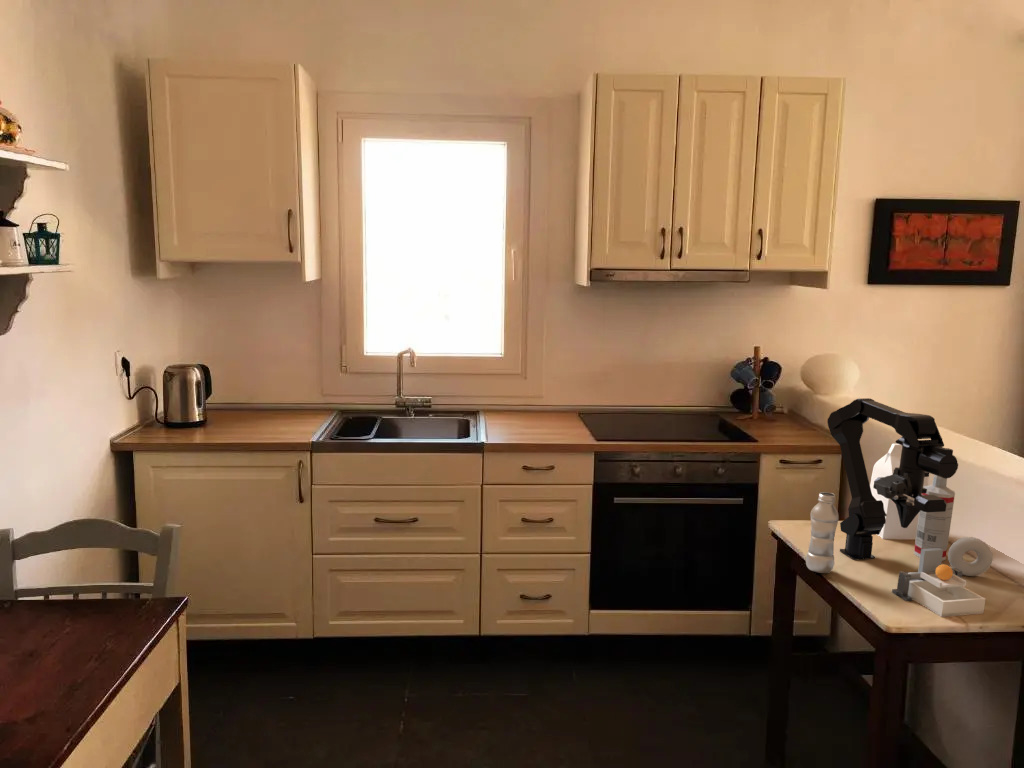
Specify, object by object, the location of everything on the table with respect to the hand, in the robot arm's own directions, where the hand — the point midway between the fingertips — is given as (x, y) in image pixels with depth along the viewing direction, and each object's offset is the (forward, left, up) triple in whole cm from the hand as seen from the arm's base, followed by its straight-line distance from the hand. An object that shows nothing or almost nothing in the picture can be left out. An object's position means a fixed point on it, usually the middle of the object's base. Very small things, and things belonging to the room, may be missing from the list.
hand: (904, 527), depth 198 cm
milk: (-29, +22, -13) cm, 38 cm away
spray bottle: (-11, +19, -13) cm, 26 cm away
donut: (+2, +19, -13) cm, 23 cm away
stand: (+10, 0, -13) cm, 16 cm away
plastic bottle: (-6, -18, -13) cm, 23 cm away
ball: (+14, 0, -6) cm, 15 cm away
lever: (+10, 0, -12) cm, 16 cm away
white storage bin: (+15, 0, -13) cm, 20 cm away
